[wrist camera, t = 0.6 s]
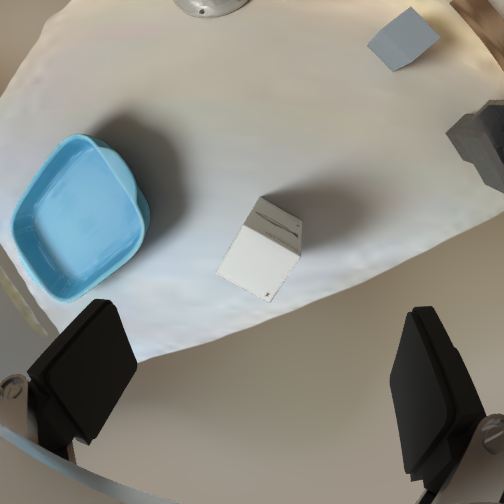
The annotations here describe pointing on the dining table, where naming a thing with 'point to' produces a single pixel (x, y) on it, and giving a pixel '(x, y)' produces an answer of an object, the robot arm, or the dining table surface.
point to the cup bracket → (483, 142)
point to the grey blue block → (403, 39)
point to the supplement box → (263, 251)
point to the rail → (484, 24)
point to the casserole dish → (79, 218)
